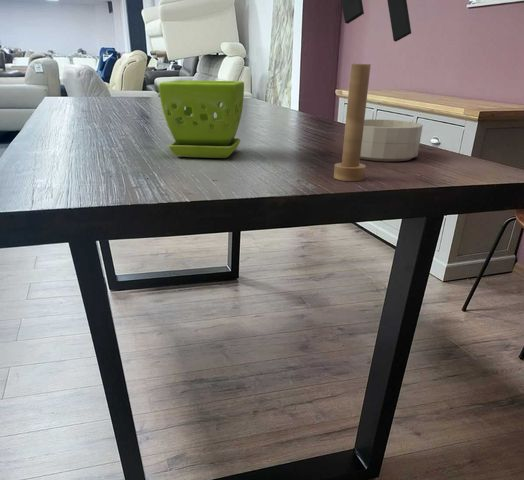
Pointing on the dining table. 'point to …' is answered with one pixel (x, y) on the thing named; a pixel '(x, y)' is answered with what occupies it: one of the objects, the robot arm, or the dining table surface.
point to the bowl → (390, 140)
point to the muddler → (354, 126)
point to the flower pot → (202, 116)
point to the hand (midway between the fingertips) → (380, 28)
